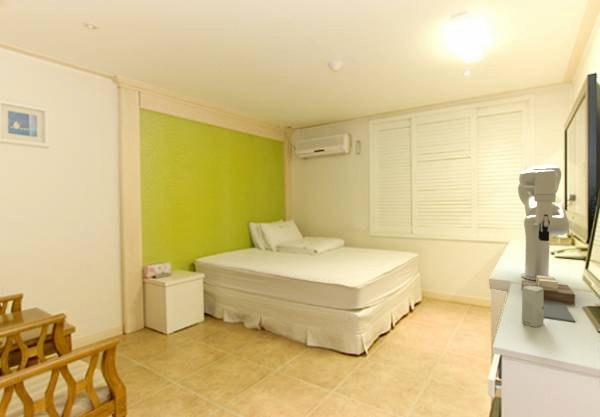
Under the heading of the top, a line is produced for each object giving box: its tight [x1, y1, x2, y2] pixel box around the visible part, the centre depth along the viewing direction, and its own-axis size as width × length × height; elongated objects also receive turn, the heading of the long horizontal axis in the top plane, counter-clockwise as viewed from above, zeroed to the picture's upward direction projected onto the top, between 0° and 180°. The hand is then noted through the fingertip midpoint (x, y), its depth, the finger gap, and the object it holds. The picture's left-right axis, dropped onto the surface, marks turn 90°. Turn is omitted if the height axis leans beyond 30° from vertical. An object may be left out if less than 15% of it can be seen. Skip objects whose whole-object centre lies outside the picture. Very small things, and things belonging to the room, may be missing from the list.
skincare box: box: [521, 286, 545, 328], centre depth 108 cm, size 6×4×12 cm
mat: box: [543, 300, 576, 323], centre depth 120 cm, size 20×12×1 cm, turn 150°
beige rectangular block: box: [535, 275, 559, 291], centre depth 134 cm, size 9×6×4 cm, turn 150°
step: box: [520, 279, 576, 306], centre depth 135 cm, size 14×16×4 cm
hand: (543, 239), depth 143 cm, fingers open, 3 cm apart
